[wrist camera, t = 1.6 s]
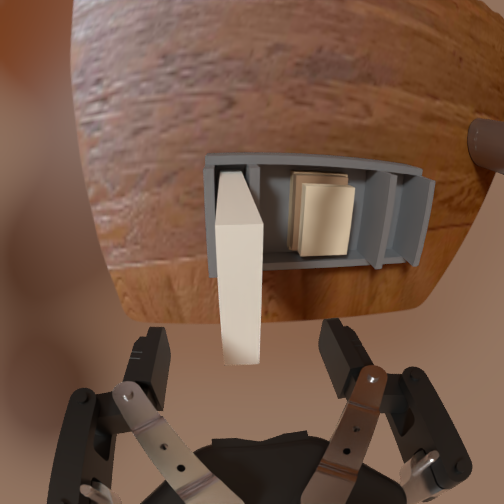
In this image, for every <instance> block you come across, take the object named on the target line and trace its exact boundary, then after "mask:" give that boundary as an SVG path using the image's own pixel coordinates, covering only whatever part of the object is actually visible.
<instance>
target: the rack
mask: <svg viewBox="0 0 504 504" xmlns="http://www.w3.org/2000/svg"><path fill="white" fill-rule="evenodd" d="M220 170H241V172H242V174H243V176H244V179H245V181H246V183H247V186H248V188H249V191H250V193H251V195H252V198H253V200H254V202H255V205H256V207H257V210H258V212H259V215H260V217H261V219H262V222H263V262H262V271H264V270H287V269H308V268H327V267H345V266H362V265H372V266H373V267H374V268H375V269H382V265H383V264H393V263H406V261H407V262H409V263H410V264H411V265H412V266H418V264H419V261H420V257H421V253H422V249H423V245H424V241H425V236H426V232H427V227H428V222H429V217H430V212H431V206H432V200H433V194H434V187H435V181H434V180H431V179H428V178H425V177H423V176H422V170H423V169H421V168H417V167H414V166H411V165H407V164H401V163H394V162H387V161H380V160H372V159H363V158H353V157H342V156H330V155H316V154H297V153H207V155H206V156H205V167H204V169H203V173H204V200H205V221H206V239H207V255H208V269H209V278H214V277H218V275H217V258H216V237H215V220H216V209H217V198H218V188H219V178H220ZM291 170H309V171H330V172H343V173H346V174H348V185H350V186H352V187H354V188H355V195H354V204H353V212H352V220H351V228H350V235H349V242H348V248H347V255H323V256H300V254H299V253H298V250H293V251H292V250H289V249H288V247H287V233H288V215H289V195H290V171H291Z"/></svg>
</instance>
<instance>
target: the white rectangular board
mask: <svg viewBox="0 0 504 504" xmlns="http://www.w3.org/2000/svg"><path fill="white" fill-rule="evenodd" d="M215 237H216V258H217V275H218V291H219V306H220V320H221V333H222V345H223V356H224V365H246V364H259V355H260V354H259V353H260V327H261V296H262V262H263V222H262V219H261V217H260V215H259V212H258V210H257V207H256V205H255V202H254V200H253V198H252V195H251V193H250V191H249V188H248V186H247V183H246V181H245V179H244V176H243V174H242V172H241V170H220V178H219V188H218V198H217V209H216V220H215Z"/></svg>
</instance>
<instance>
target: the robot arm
mask: <svg viewBox="0 0 504 504" xmlns="http://www.w3.org/2000/svg"><path fill="white" fill-rule="evenodd" d="M468 148H469V153H470V155H471V158H472V160H473V161H474V163H475V164H476V165H478V166H480V167H483V168H486V169H489V170H492V171H495V172H498V173H501V174H503V175H504V122H501V121H495V120H489V119H481V118H477V119H475V120H474V121H473V122H472V123H471V125H470V128H469V132H468ZM319 351H320V354H321V356H322V359H323V361H324V364H325V366H326V369H327V371H328V374H329V376H330V379H331V381H332V384H333V387H334V389H335V392H336V394H337V397H338V399H340V398H345V397H346V399H347V403H346V405H345V408H344V410H343V412H342V414H341V417H340V419H339V421H338V423H337V425H336V427H335V430H334V432H333V434H332V436H331V438H330V439H329V441H327V440H325V439H322V438H318V437H313V436H308V434H307V431H300V432H293V433H286V434H282V435H279V436H276V437H273V438H270V439H268V440H264V441H252V440H244V439H238V438H226V439H212V445H208V446H205V447H202V448H200V449H198V450H196V451H194V452H192V451H191V450H190V449H189V448H188V447H187V445H185V443H184V442H183V441H182V440H181V438H180V437H179V436H178V435H177V434H176V432H175V431H174V430H173V429H172V427H171V426H170V425H169V424H168V422H167V421H166V420H165V419H164V418H163V416H160V414H159V413H158V412H157V411H163V408H164V400H165V393H166V385H167V379H168V372H169V366H170V358H171V353H170V347H169V343H168V339H167V335H166V330H165V328H164V327H150V328H149V330H148V333H147V336H146V337H140V338H139V339H138V340H137V341H136V342H135V343H134V346H133V349H132V353H131V356H130V359H129V363H128V365H127V369H126V372H125V375H124V379H123V382H122V383H120V384H118V385H117V386H116V387H115V388H114V389H113V391H112V392H108V393H102V394H96V395H95V393H94V392H93V391H92V390H91V389H88V388H80V389H78V390H76V391H75V392H73V394H72V395H71V397H70V400H69V403H68V406H67V410H66V413H65V417H64V420H63V424H62V428H61V431H60V435H59V439H58V444H57V448H56V453H55V457H54V462H53V467H52V473H51V478H50V484H49V491H48V498H47V504H122V501H121V499H120V497H119V496H118V495H117V494H116V493H115V492H113V491H112V490H111V482H112V470H113V460H114V451H115V442H116V436H117V434H119V433H125V432H130V431H132V432H133V434H134V436H135V437H136V439H137V440H138V442H139V443H140V445H141V446H142V448H143V449H144V451H145V452H146V454H147V455H148V457H149V458H150V459H151V460H152V462H153V464H154V465H155V466H156V467H157V469H158V470H159V471H160V473H161V474H162V475H163V477H164V478H165V479H166V480H165V481H164V482H163V483H162V484H161V485H159V487H158V488H156V489H155V490H154V491H153V492H152V493H151V494H150V495H149V496H148V497H147V498H146V499H145V500H144V501H143V502H142V503H140V504H417V503H419V502H428V501H431V500H433V499H435V498H436V497H438V496H440V495H442V494H443V493H445V492H447V491H448V490H450V489H452V488H453V487H455V486H456V485H458V484H460V483H461V482H463V481H464V480H466V479H467V478H468V477H469V475H470V474H471V472H472V462H471V459H470V457H469V455H468V453H467V451H466V448H465V446H464V444H463V442H462V440H461V438H460V436H459V434H458V432H457V430H456V428H455V426H454V424H453V422H452V420H451V418H450V416H449V414H448V413H447V411H446V409H445V407H444V405H443V403H442V401H441V400H440V398H439V396H438V394H437V392H436V391H435V389H434V387H433V385H432V384H431V382H430V380H429V378H428V377H427V375H426V374H425V373H424V371H423V370H422V369H420V368H417V367H408V368H406V369H405V370H404V371H403V373H402V374H387V373H386V372H385V370H383V369H382V368H381V367H378V366H375V365H374V364H373V363H372V361H371V359H370V357H369V356H368V354H367V352H366V350H365V348H364V347H363V346H362V343H361V341H360V340H359V338H358V336H357V335H356V333H355V331H353V330H352V329H351V328H349V327H348V326H344V327H343V325H342V323H341V321H340V320H339V318H330V319H324V320H323V323H322V327H321V332H320V337H319ZM380 413H385V414H386V417H387V419H388V422H389V424H390V427H391V429H392V432H393V435H394V437H395V440H396V442H397V445H398V448H399V451H400V453H401V456H402V459H403V461H404V465H403V466H402V467H401V470H400V484H398V483H397V482H396V481H394V480H392V479H390V478H388V477H387V476H385V475H383V474H381V473H380V472H378V471H376V470H374V469H372V468H371V467H369V466H367V465H366V464H364V463H363V459H364V457H365V455H366V452H367V449H368V447H369V444H370V441H371V439H372V436H373V433H374V430H375V427H376V424H377V421H378V418H379V415H380Z"/></svg>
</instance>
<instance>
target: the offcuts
mask: <svg viewBox="0 0 504 504" xmlns="http://www.w3.org/2000/svg"><path fill="white" fill-rule="evenodd" d="M354 195H355V188H354V187H352V186H350V185H348V174H346V173H343V172H330V171H309V170H291V171H290V195H289V215H288V233H287V247H288V249H289V250H292V251H293V250H298V253H299V254H300V256H323V255H347V248H348V242H349V235H350V228H351V220H352V212H353V204H354Z"/></svg>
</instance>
